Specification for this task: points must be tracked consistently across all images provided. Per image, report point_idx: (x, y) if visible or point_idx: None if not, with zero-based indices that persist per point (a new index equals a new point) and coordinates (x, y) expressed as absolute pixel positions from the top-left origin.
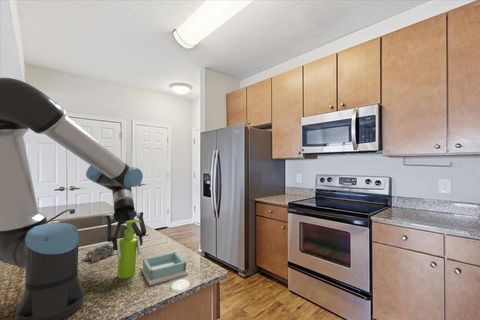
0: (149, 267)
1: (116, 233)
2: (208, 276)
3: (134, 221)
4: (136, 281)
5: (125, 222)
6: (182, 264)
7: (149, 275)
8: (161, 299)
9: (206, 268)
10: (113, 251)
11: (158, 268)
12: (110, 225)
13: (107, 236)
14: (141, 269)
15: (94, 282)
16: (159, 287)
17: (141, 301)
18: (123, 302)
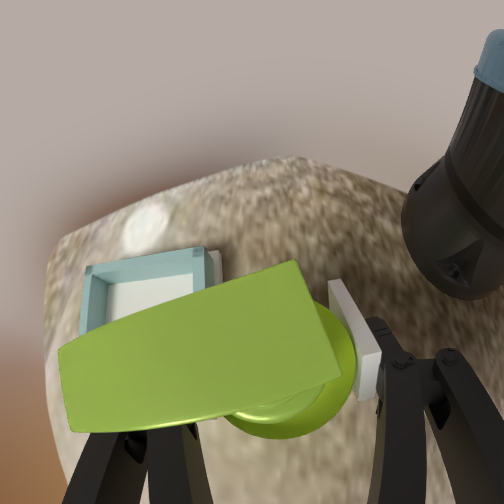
0: (199, 281)
1: (404, 402)
2: (80, 240)
3: (136, 316)
4: None
5: (325, 334)
6: (98, 266)
7: (210, 267)
8: (208, 179)
9: (62, 284)
10: None
11: (171, 258)
12: (498, 465)
13: (466, 364)
14: None
15: None
16: (197, 232)
17: (254, 186)
18: (299, 196)
